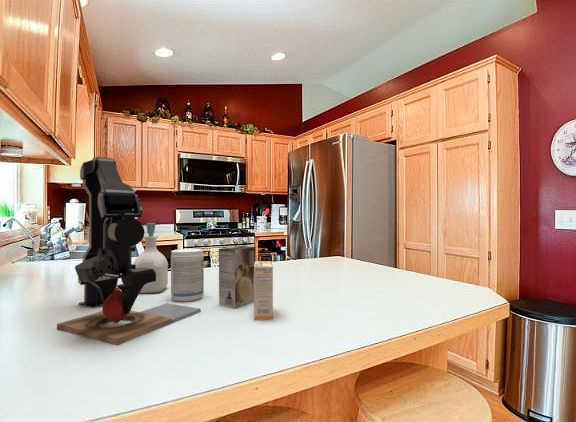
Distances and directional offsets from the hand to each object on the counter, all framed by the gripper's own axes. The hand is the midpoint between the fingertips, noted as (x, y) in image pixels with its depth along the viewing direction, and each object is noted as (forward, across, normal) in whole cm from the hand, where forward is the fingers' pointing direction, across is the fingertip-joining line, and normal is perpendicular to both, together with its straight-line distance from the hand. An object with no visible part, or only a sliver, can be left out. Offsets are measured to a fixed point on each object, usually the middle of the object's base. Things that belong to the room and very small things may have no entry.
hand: (117, 311), depth 73 cm
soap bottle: (+4, -21, +28) cm, 35 cm away
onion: (+3, 0, 0) cm, 3 cm away
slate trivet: (+3, +4, +11) cm, 12 cm away
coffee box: (+4, +14, +28) cm, 31 cm away
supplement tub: (+4, -3, +26) cm, 26 cm away
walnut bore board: (+3, 0, 0) cm, 3 cm away
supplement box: (+4, +26, +22) cm, 34 cm away
